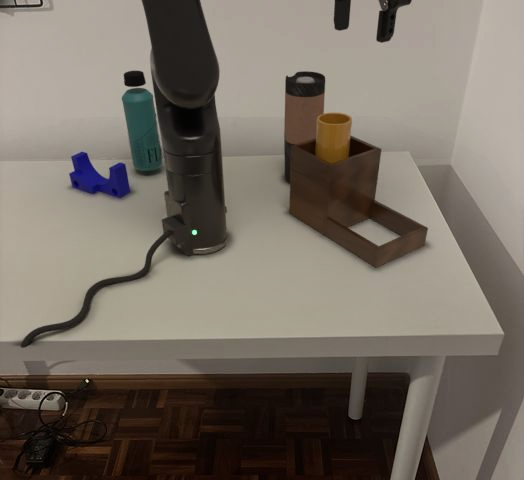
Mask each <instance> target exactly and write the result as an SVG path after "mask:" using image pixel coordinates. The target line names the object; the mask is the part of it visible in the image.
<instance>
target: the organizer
mask: <svg viewBox="0 0 524 480" xmlns="http://www.w3.org/2000/svg"><path fill="white" fill-rule="evenodd" d="M315 146H316V138H315V139H312V140H309V141H306V142H302V143H299V144H296V145H292V146H291V161H290V184H289V214H290V215H291V216H293V217H294V218H296V219H298V220H299V221H301V222H302V223H304V224H305V225H307V226H309V228H312V229H313V230H315V231H317V232H318V233H320V234H322V235H323V236H325V237H327V238H328V239H329V240H331V241H332V242H334V243H336V244H338V245H339V246H341V247H342V248H344V249H346V250H347V251H349V252H351V254H353V255H355V256H357V257H358V258H360V259H362V260H363V261H365V262H366V263H368V264H369V265H371V266H373V267H374V268H376V269H377V268H379V267H382V266H383V265H386V264H388V263H390V262H392V261H394V260H396V259H399V258H400V257H402V256H406V255H408V254H410V253H412V252H414V251H416V250H418V249H421V248H422V247H424V246H425V244H426V240H427V237H428V230H429V227H427V226H426V225H423V224H421V223H420V222H418V221H416V220H414V219H413V218H410V217H408V216H406V215H404V214H403V213H401V212H400V211H399V212H398V211H397V210H395V209H393V208H391V207H389V206H387V205H385V204H383V203H381V202H380V201H378V200H376V194H377V186H378V180H379V179H378V178H379V171H380V163H381V155H382V148H380V147H378V146H375V145H373V144H371V143H369V142H367V141H364V140H363V139H360V138H357V137H355V136H353V135H351V136H350V147H349V158H346V159H343V160H340V161H337V162H334V163H329V162H327V161H325V160H323V159H321V158H319V157H317V156H315ZM369 219H370V220H372V221H374V222H376V223H377V224H379V225H381V226H383V227H385V228H387V230H388V229H389V230H390V231H392V232H393V233H395V234H397V235H399V237H397V238H396V237H395V238H394V239H392V240H389V241H388V242H385V243H382V244H379V245H378V244H376V243H374V242H372V241H371V240H369V239H367V238H366V237H364V236H362V235H361V234H359V233H358V232H356V231H354V230H352V228H351V229H350V228H349V227H351V226H354V225H356V224H358V223H359V224H360V223H362V222H364V221H366V220H369Z"/></svg>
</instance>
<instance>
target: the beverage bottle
mask: <svg viewBox="0 0 524 480" xmlns="http://www.w3.org/2000/svg"><path fill="white" fill-rule="evenodd" d="M146 83H147V82H146V77H145V73H144V71H142V70H129V71H125V72H124V73H123V84H124V86H125V87H128V88H129V89H127V90H126V91H125V92H124V93H123V95H122V96H121V101H122V108H123V111H124V117H125V123H126V128H127V136H128V145H129V148H130V156H131V161H132V164H133V166H134V169H136V170H138V171H143V172H145V171H147V172H148V171H149V172H150V171H155V170H157V169H160V168H162V165H163V161H164V156H163V149H162V142H161V141H160V134H159V126H158V119H157V112H156V106H155V100H154V94H153V93H152V92H151V91H149V90H148V89H147V88H144V87H143V86H144V85H146Z"/></svg>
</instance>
